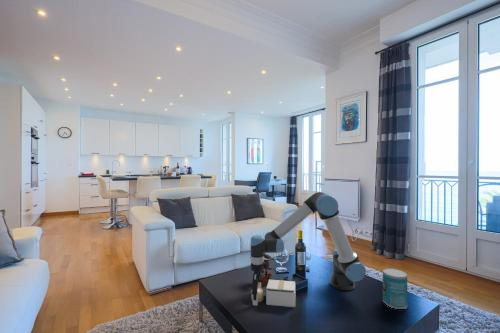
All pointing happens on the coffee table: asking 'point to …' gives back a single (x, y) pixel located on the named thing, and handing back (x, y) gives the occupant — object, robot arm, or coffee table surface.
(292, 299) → the carton
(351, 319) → the coffee table surface
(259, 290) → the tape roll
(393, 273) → the food can
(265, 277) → the brown tall irregular piece
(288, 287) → the lid
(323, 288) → the coffee table surface
